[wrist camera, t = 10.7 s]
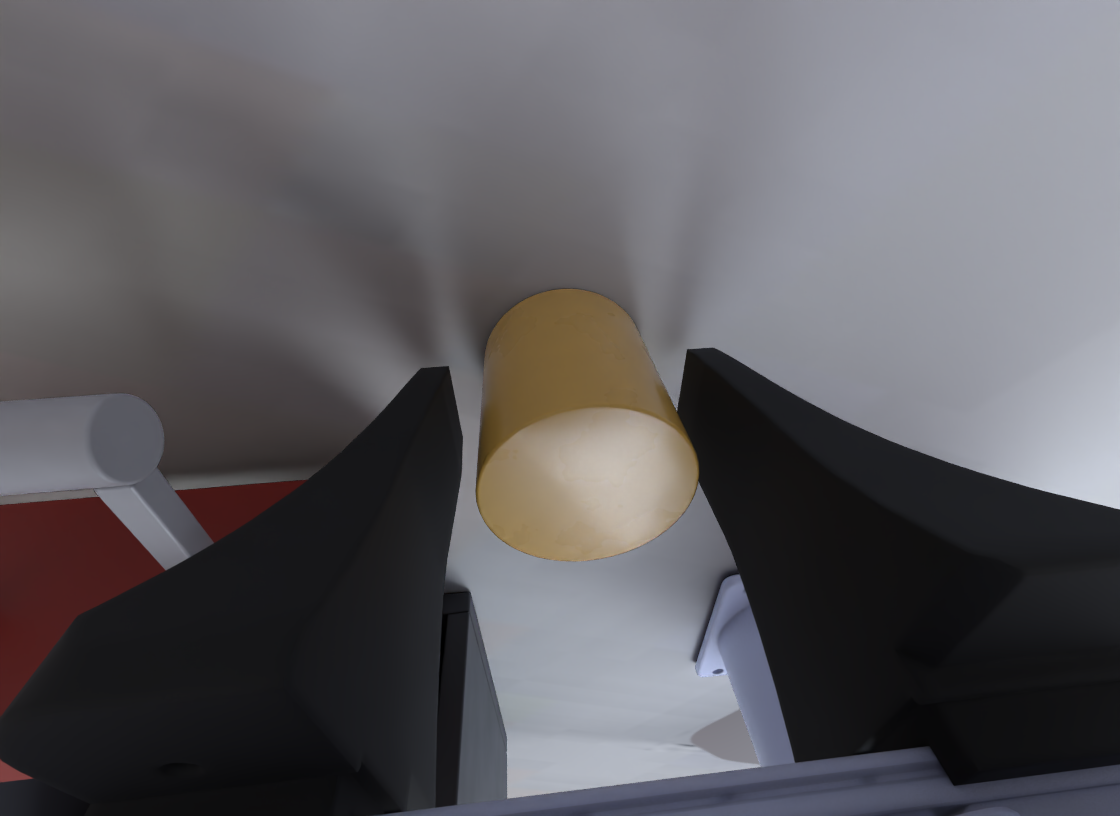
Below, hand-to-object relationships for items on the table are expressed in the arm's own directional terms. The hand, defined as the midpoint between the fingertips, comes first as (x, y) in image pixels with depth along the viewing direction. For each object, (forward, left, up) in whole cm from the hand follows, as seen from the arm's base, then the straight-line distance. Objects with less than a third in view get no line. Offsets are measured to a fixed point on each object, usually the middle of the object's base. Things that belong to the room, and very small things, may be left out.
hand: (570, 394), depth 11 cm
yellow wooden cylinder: (0, 0, -1) cm, 1 cm away
